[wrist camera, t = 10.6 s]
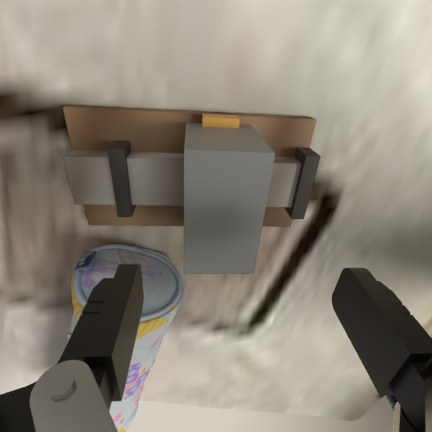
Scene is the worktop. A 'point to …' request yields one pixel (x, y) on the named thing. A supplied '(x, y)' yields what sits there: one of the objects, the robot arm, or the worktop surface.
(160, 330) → the pencil case
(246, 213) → the din module
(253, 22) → the worktop surface
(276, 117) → the rail board
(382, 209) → the worktop surface
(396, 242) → the worktop surface
